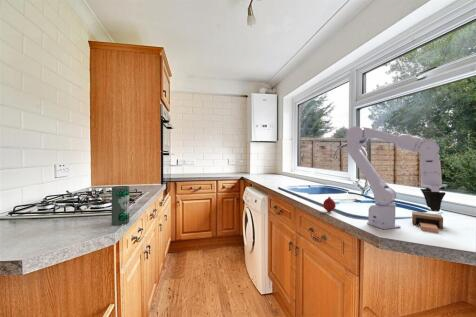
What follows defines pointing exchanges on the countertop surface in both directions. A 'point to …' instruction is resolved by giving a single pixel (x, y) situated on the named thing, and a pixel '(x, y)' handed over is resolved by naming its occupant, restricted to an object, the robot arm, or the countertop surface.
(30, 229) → the countertop surface
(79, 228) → the countertop surface
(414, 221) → the shelf
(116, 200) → the can
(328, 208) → the onion
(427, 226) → the tile
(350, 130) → the robot arm
